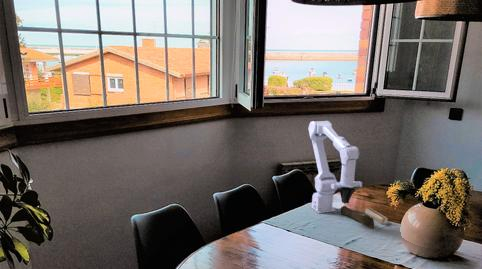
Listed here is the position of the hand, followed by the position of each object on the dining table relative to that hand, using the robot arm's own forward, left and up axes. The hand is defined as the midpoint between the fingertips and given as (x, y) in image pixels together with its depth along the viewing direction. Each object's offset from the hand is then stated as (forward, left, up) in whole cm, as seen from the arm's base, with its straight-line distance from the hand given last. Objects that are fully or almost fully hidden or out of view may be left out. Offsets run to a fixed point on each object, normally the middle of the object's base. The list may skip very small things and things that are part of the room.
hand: (345, 202), depth 161 cm
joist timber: (+18, 0, -9) cm, 20 cm away
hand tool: (+8, 0, -10) cm, 13 cm away
